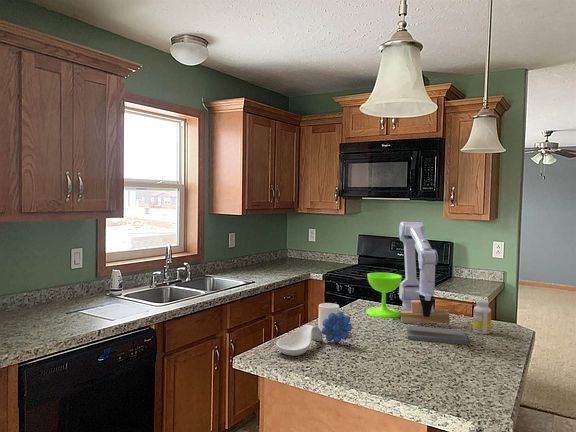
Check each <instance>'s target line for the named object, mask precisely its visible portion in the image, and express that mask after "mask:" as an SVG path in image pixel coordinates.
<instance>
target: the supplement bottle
mask: <svg viewBox="0 0 576 432" xmlns="http://www.w3.org/2000/svg"><path fill="white" fill-rule="evenodd" d="M475 302H476V303H475V304H476V305H475V306H474V308H473V317H472V318H473V319H472V320H473V322H472V325H473V326H472V330H473V332H475V333H476V334H479V335H480V334H482V335H488V334H491V332H492V331H491V327H492V326H491V325H492V309H491V308H490V307H489V305H490V304H489V303H490V302H489V301H488V300H486V299H477V300H476V301H475Z"/></svg>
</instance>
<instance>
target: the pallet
mask: <svg viewBox="0 0 576 432" xmlns="http://www.w3.org/2000/svg"><path fill="white" fill-rule="evenodd" d="M433 310H434V312H431V313H430V316H429V317H424V315H423V312H412V310H402V309H401V310H400V314H401V315H400V319H401V318H402V322H401V323H402V324H413V323H420V324H450V311H449V309H433Z"/></svg>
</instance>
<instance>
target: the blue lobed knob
mask: <svg viewBox="0 0 576 432" xmlns="http://www.w3.org/2000/svg"><path fill="white" fill-rule="evenodd" d="M344 313H345V312H343V311H339V312H338V313H337V314H335V313H330V314H329V315H328V319H325V320H323V326H324V328H323V329H322V332H321V333H322V336H323V335H324V336H325V340H326V341H328V342H334V343H335V344H338V343H340V342H341V341H342V340H346V339H348V338H349V332H350V331H352V330H353V325H352V324H351V323H350V322H351V317H350V316H349V315H345V314H344Z"/></svg>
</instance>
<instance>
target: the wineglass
mask: <svg viewBox="0 0 576 432" xmlns="http://www.w3.org/2000/svg"><path fill="white" fill-rule="evenodd" d="M402 279H403V276H402V275H401V274H397V273H392V272H370V273H367V281H368V284H369V285H370V286H371V288H372V289H374V290H375V291H377V292H379V293H381V305H380V307H379V306H377V307H376V306H375V307H370V308H368V309H367V310H366V313H365V314H367V315H369V316H372V317H374V318H384V319H388V318H389V319H392V318H394V319H395V318H398V317H401V311H399V310H398V309H394V308H392V307H391V308H390V307H387V304H386V303H387V302H386V301H387V293H390V292H393V291H395V290H396V289H397V288H398V287H399V285H400V283H401V282H402Z"/></svg>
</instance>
